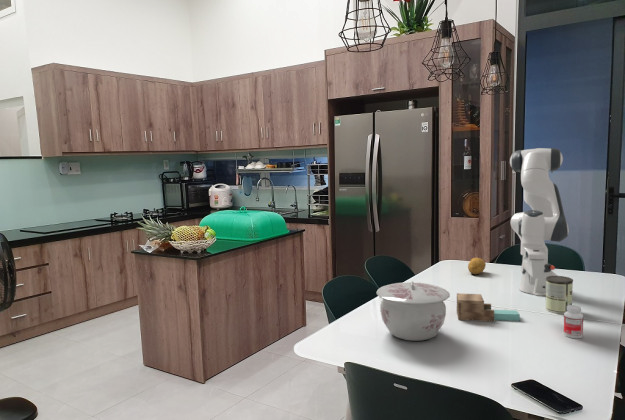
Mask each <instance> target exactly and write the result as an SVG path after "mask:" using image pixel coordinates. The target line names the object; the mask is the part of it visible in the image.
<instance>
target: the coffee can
mask: <svg viewBox="0 0 625 420" xmlns="http://www.w3.org/2000/svg"><path fill="white" fill-rule="evenodd" d="M573 283H574V279H573V278H571V277H569V276H563V275H558V276H548V277H546V296H545V310H546V311H547V312H550V313H551V314H552V313H553V314H558V315H559V314H560V315H564V313H565V312H566V311H567V306H568V305H573Z"/></svg>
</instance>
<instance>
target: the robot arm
mask: <svg viewBox="0 0 625 420" xmlns="http://www.w3.org/2000/svg"><path fill="white" fill-rule="evenodd" d="M563 161H564V157H563V153H562V152H561V150H560V149H559V148H556V147H555V148H554V147H551V148H545V147H544V148H542V147H538V148H537V147H536V148H529V149H528V148H527V149H523V150H521V149H519V150H515V151H513V152H512V153H511V156H510V158H509V165H510V167H511V170H512V171H513V172H516V173H520V182H521V183H520V184H521V186H522V188H523V200H524V203H526V205H528V206H529V207H530V208H531V210H526V211H524V212H523V211H522V212H517V213H515V214H513V215H512V217H511V218H510V227H511V229H512V230H513V231H514V232H515V233H516V234H517V236H518V238H519V239H520V255H521V256H522V262H521V281H520V283H519V287H518V290H519V291H521V292H523V293H526V294H531V295H535V296H537V297H539V296H542V297H543V296H545V297H546V277H548V276H559V275H558V274H557V273H556V272H554V270H555V269H556V267H555V266H554V265H553V264H550V263H548V259H549V258H548V257H549V256H548V255H549V249H548V247H547V245H546V243H545V242H546V241H551V242H559V243H560V242H562V241H564V240H565V239H566V238H568V236H569V224H568V222H567V219H566V216H565V212H564V211H565V210H564V207H563V202H562V199H561V195H560V194H561V193H560V190H559V188H558V186H557V184H556V183H554V182H553V181H551V179H550V177H549V172H550V173H551V174H552V173H554V172H555V171H558V170H559V169H560V168H561V167H562V164H563Z"/></svg>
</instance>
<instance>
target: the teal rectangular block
mask: <svg viewBox="0 0 625 420" xmlns="http://www.w3.org/2000/svg"><path fill="white" fill-rule="evenodd" d="M493 310H494V321H517V322H518V321H519V322H520V317H521V315H520V313H519V311H518V310H512V309H493Z"/></svg>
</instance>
